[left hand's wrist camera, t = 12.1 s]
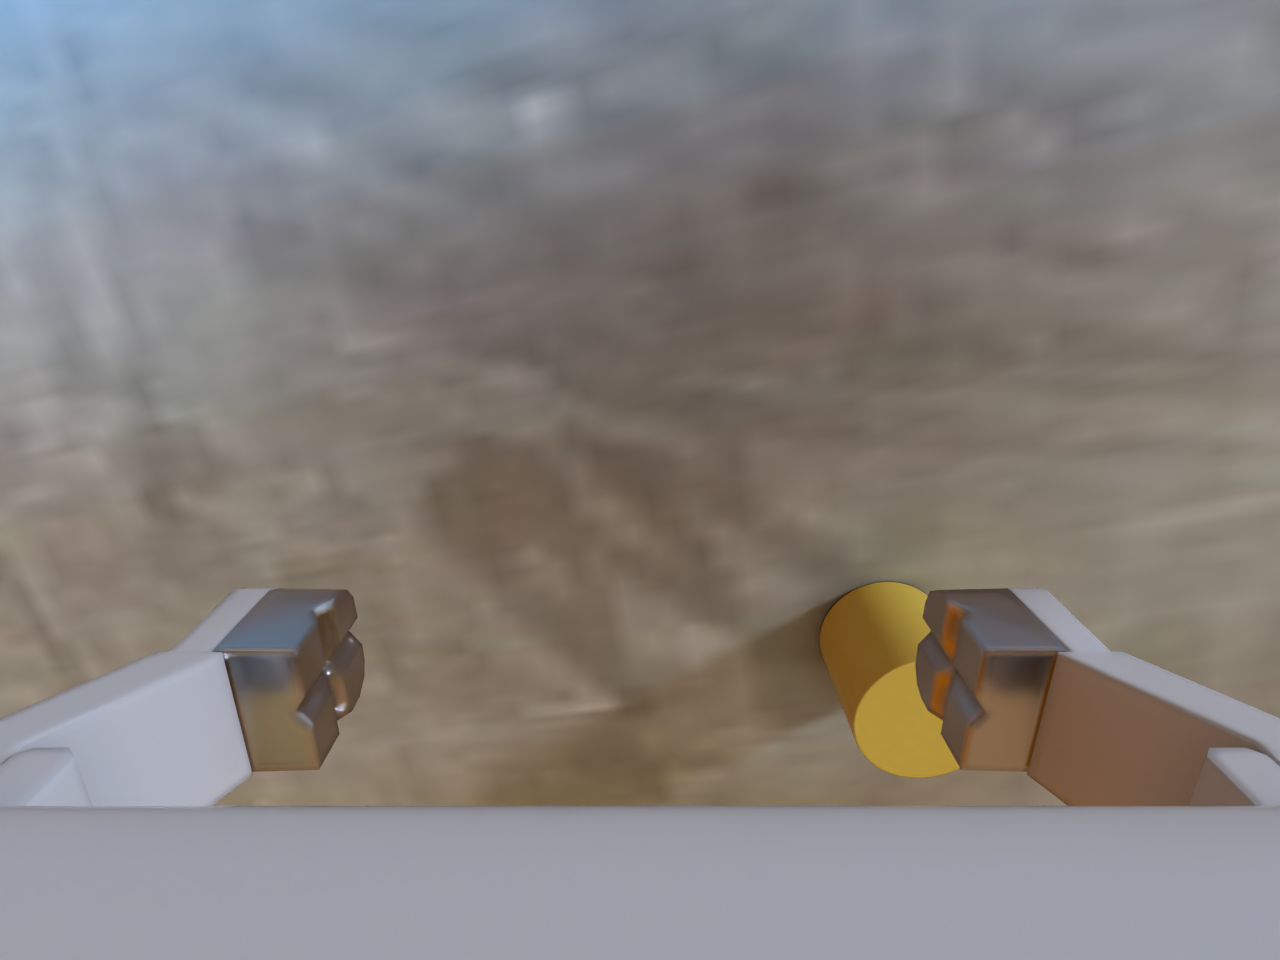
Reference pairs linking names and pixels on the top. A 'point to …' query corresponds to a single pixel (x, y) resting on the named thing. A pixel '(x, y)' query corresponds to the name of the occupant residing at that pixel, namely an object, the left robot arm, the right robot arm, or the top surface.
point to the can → (884, 678)
